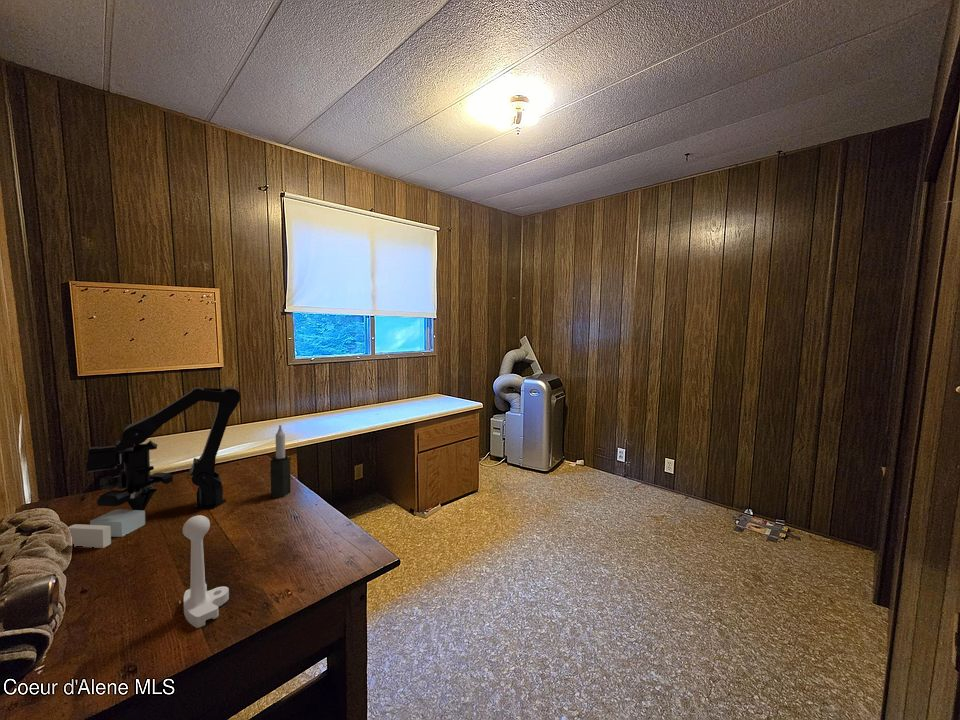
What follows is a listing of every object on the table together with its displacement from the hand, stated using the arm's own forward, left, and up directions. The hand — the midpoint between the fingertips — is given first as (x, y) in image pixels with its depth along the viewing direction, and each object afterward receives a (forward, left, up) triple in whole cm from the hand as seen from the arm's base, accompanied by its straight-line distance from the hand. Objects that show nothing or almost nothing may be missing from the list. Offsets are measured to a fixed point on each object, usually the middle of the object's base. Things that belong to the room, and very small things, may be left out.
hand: (138, 515), depth 114 cm
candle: (-32, -21, -1) cm, 38 cm away
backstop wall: (0, +14, -1) cm, 14 cm away
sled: (0, +6, -1) cm, 6 cm away
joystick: (-48, +34, -1) cm, 58 cm away
